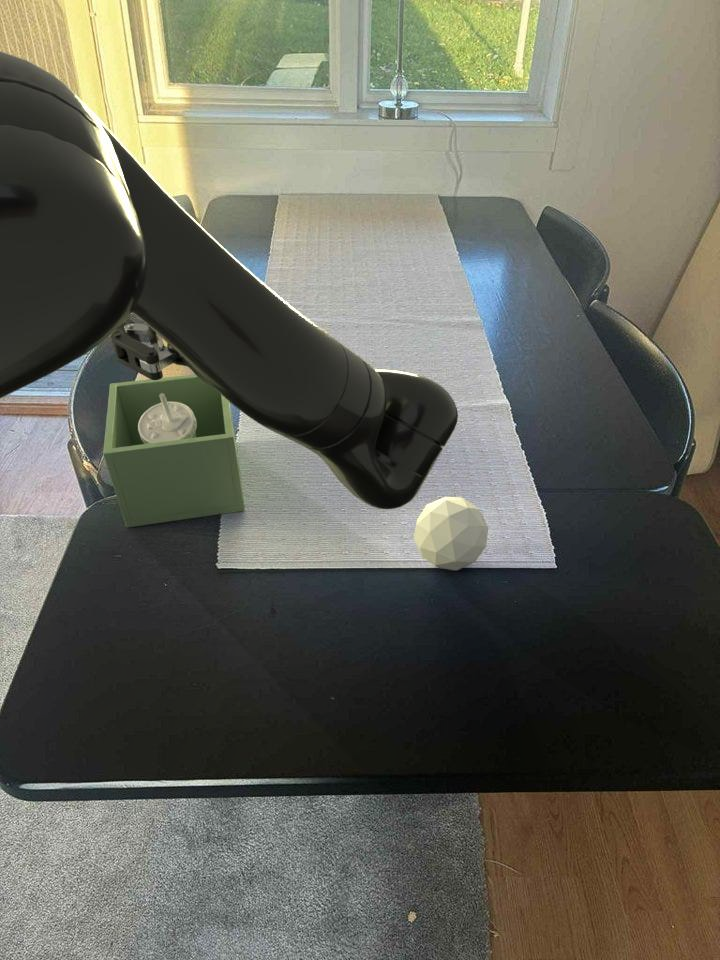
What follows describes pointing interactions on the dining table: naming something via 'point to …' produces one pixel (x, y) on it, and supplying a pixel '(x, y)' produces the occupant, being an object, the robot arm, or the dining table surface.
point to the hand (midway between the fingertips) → (149, 305)
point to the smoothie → (167, 422)
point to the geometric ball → (451, 533)
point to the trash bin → (172, 454)
